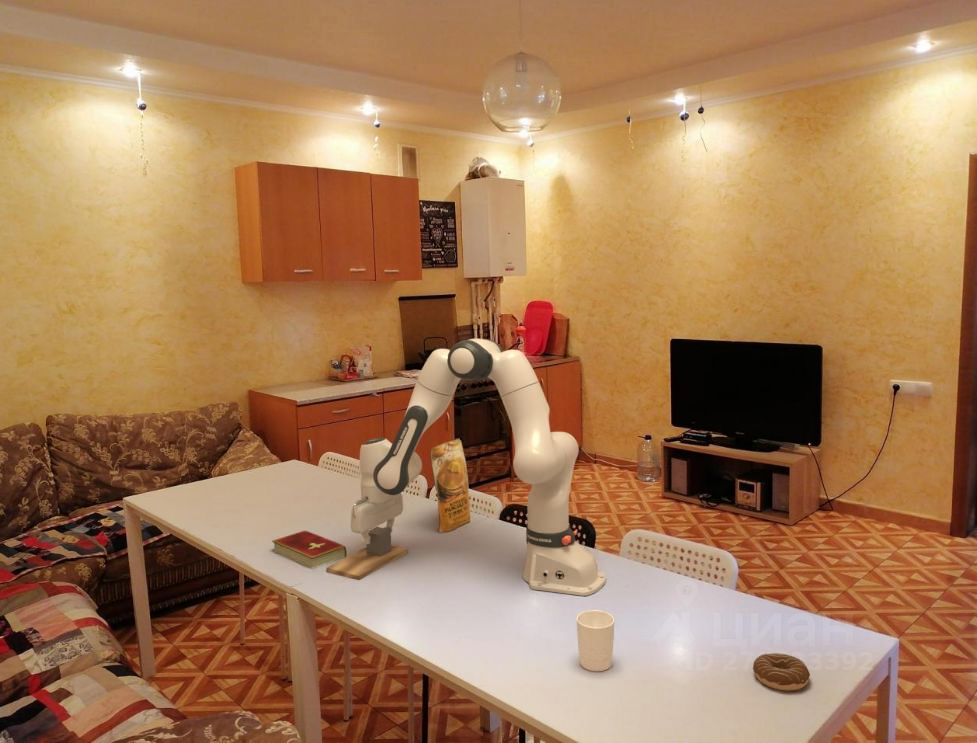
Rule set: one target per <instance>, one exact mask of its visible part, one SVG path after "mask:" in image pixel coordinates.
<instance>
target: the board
mask: <svg viewBox="0 0 977 743" xmlns="http://www.w3.org/2000/svg"><path fill="white" fill-rule="evenodd" d="M391 550H392V551H390V552H388V553H386V554H385V555H383V556H381V557H379V556H375V555H371V554H367V551H366V547H364V548H362V549H360V550H358V551H357V552H355V553H352V554H350V555H348V556H346V557H343V558H342V559H340V560H339V561H337V562H334V563H333V564H331V565H329V566H327V567H326V573H329V574H333V575H337V576H342V577H345V578H349V579H353V580H358V581H360V580H362V579H364V578H365V577H367V576H369V575H371V574H372V573H374V572H377V571H378V570H380V569H381V568H384V567H385V566H386V565H389V564H390V563H392V562H394V561H396V560H397V559H399V558H401V557H403V556H404V555H406V554H408V553H409V552H408V551H409V550H408V548H406V547H401V546H396V545H392V544H391Z"/></svg>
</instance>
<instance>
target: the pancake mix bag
mask: <svg viewBox="0 0 977 743" xmlns="http://www.w3.org/2000/svg"><path fill="white" fill-rule="evenodd" d="M460 439H461V438H460V437H459V438H455V439H453V440H450V441H446V442H443V443H441V444H439V445H436V446H434V447H432V448H431V450H430V457H429V458H430V464H431V468H432V478H433V484H434V487H435V490H436V495H437V508H438V510H437V511H438V530H437V531H438V533H439V534H440V533H447V532H448V533H449V532H451V531H454V530H455V529H458V528H460V527H462V526H464V525H467V524H469V523H470V522H471V512H470V510H471V509H470V507H471V506H470V505H471V504H470V494H469V491H470V490H469V475H468V467H467V460H466V456H465V452H464V446H463V442H462V440H460Z"/></svg>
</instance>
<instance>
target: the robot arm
mask: <svg viewBox="0 0 977 743" xmlns="http://www.w3.org/2000/svg"><path fill="white" fill-rule="evenodd" d="M534 370H535V369H533V367H532V364H531V363H530V361H529V360H528V358H527V357H526V355H525V354H524V353H523V351H522V350H519V349H508V350H504V349H503V348H502V346H501V345H500V344H499V343H498V342H497V341H494V340H493V339H489V338H470V339H464V340H461V341H459V342H456V343H455V344H454V345H453V346H452V347H451V348H450V349H448V348H437V349H435V350H433V351H432V352H431V354H430V355H429V356H428V357H427V359H426V361H425V362H424V365H423V367H422V368H421V370H420V373H419V375H418V377H417V379H416V382H415V384H414V385H415V386H414V387H413V391H412V393H411V396H410V400H409V402H408V406H407V409H406V412H405V413H404V418H403V419H402V422H401V423H400V424H401V425H400V426H399V428H398V431H397V432H396V435H395V437H394V439H393V442H390V440H388V439H387V438H385V437H376V438H372V439H368V440H366V441H364V442H363V443H362V444H361V446H360V450H359V471H360V474H361V479H360V499H358V500H356V501H355V502H354V504H353V506H352V509H351V512H350V515H351V516H350V530H351V531H352V533H355V534H360V535H361V536H362V538H363V542H364V544H365V545H366V544H370V543H372V537H369V535H368V533H369V530H371V529H373V528H375V527H379V526H380V525H382V524H384V523H386V524H385V527H384V528H386V529H391V533H392V532H393V526H394V524H395V518H396V517H399V516H400V515H402V514H403V511H404V500H403V494H402V493H403V492H404V490H406V488H407V487H408V486H409V485H410V484H411V483H412V482H414V480H416V478H418V476H420V475H421V472H422V470H423V461H422V458H421V456H420V455H419V453H417V452H416V451H415V450H416V448H417V446H418V444H419V441H420V440H421V438H422V437H423V434H424V433H425V432H426V431H427V430H428V429H429V427H430V426H432V425H433V423H434V424H435V422H436V421H437V420H438V419H440V417H442V415H444V413H445V411H446V410H447V409H448V407H449V405H450V403H451V401H452V400H453V397H454V394H455V392H456V389H457V386H458V384H459V383H460V381H461V380H467V381H473V380H486V379H487V378H488V379H490V380H491V381H492V382H494V384H495V387H496V388H497V390H498V393H499V396H500V399H501V400H502V403H503V406H504V408H505V411H506V414H507V416H508V419H509V422H510V426H511V429H512V434H513V435H512V436H513V441H514V458H513V462H512V463H513V464H512V467H513V470H514V474H515V476H516V477H517V478H518V479H519V480H520V481H521V482H523V483H524V484H527V485H532V486H531V488H530V491H529V493H528V496H527V501H526V502H527V504H526V506H527V525H526V528H525V529H526V530H525V532H526V533H525V534H526V536H525V537H526V538H525V539H526V540H525V541H526V545H527V550H526V558H525V565H524V569H523V572H522V578H523V579H524V581H525V582H526V583H528V584H529V588H530V589H531V590H534V591H536V590H537V591H542V592H543V591H544V592H553V593H560V594H568V595H575V596H584V597H585V596H589V595H592V594H594V593H597V592H598V591H599V590H600V589H601V588H603V587H604V586H605V584H606V581H607V578H606V574H605V572H601V571H599V569H598V564H597V560H596V558H595V556H594V555H593V554H592V553H590V552H589V551H588V550H587V549H585V547H583V546H582V545H581V544H580V543H579V542H578V541H577V540H576V535H577V534H578V529H575V530H574V531H573V530H572V528H571V526H570V524H569V520H570V518H569V514H570V513H569V512H570V510H569V508H570V507H569V504H570V503H569V502H570V499H569V498H570V491H571V484H572V481H573V474H574V470H575V464H576V461H577V458H578V457H579V456H578V455H579V450H580V449H579V444H578V441H577V440H576V439H575V437H574V436H573V435H572V434H570V433H568V432H565V431H551V427H550V412H551V409H550V406H549V404H548V401H547V398H546V395H545V393H544V392H543V388H542V386H541V383H540V382H539V379H538V377H537V374H536V372H535V371H534Z"/></svg>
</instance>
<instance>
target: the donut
mask: <svg viewBox="0 0 977 743" xmlns="http://www.w3.org/2000/svg"><path fill="white" fill-rule="evenodd" d="M752 670H753V673H754V675H755V677H756V678H757V679H758V681H760V682H761V683H762V684H763V685H766V686H767V687H770V688H772V689H775V690H778V691H779V690H780V691H784V692H785V691H787V692H790V691H797V690H801V689H803V688H804V687H805V686H806V685H807V684H808V682H809V680H810V676H811V674H810V672H809V668H808V667H807V665H806V664H805V662H804V661H802V660H801V659H800V658H797V657H795V656H792V655H790V654H786V653H778V652H773V653H772V652H771V653H764V654H761V655H759V656H758V657H757V658H756V659H755V660H754V661H753V665H752Z"/></svg>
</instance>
